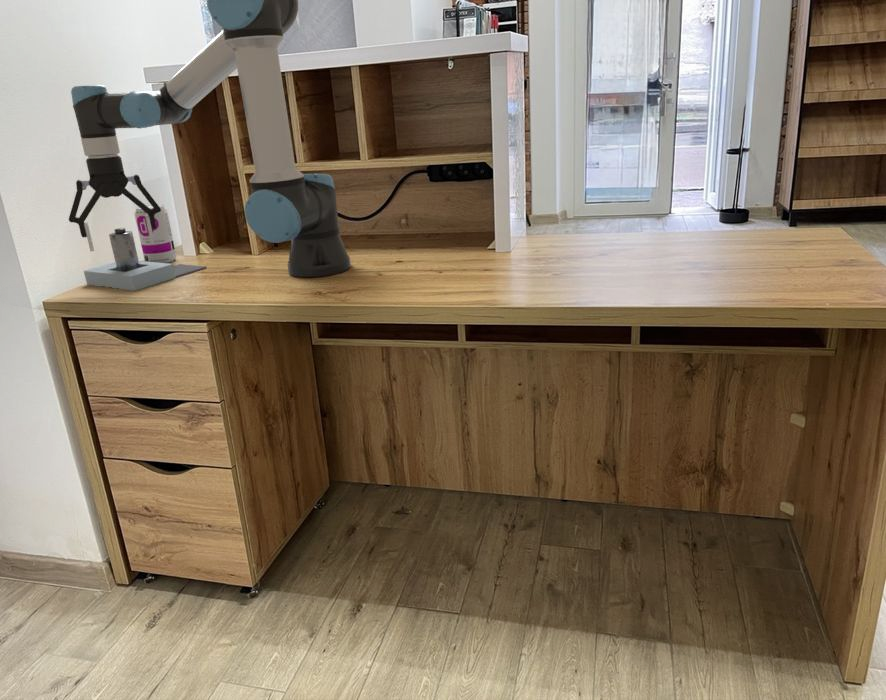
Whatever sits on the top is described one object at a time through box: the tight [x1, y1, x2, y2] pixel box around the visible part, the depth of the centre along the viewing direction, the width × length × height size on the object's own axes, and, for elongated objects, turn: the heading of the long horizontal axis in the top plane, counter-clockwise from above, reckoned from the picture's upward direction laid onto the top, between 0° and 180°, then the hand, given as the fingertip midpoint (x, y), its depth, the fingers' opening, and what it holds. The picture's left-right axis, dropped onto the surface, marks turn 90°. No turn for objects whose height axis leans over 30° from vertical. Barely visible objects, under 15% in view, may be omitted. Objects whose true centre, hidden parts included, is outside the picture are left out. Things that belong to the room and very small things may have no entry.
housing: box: [83, 260, 176, 292], centre depth 173 cm, size 18×12×4 cm, turn 60°
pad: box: [173, 263, 207, 279], centre depth 180 cm, size 10×10×1 cm
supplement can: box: [134, 204, 177, 264], centre depth 190 cm, size 8×8×15 cm
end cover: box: [108, 227, 140, 272], centre depth 171 cm, size 5×5×13 cm
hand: (122, 246), depth 170 cm, fingers open, 13 cm apart
